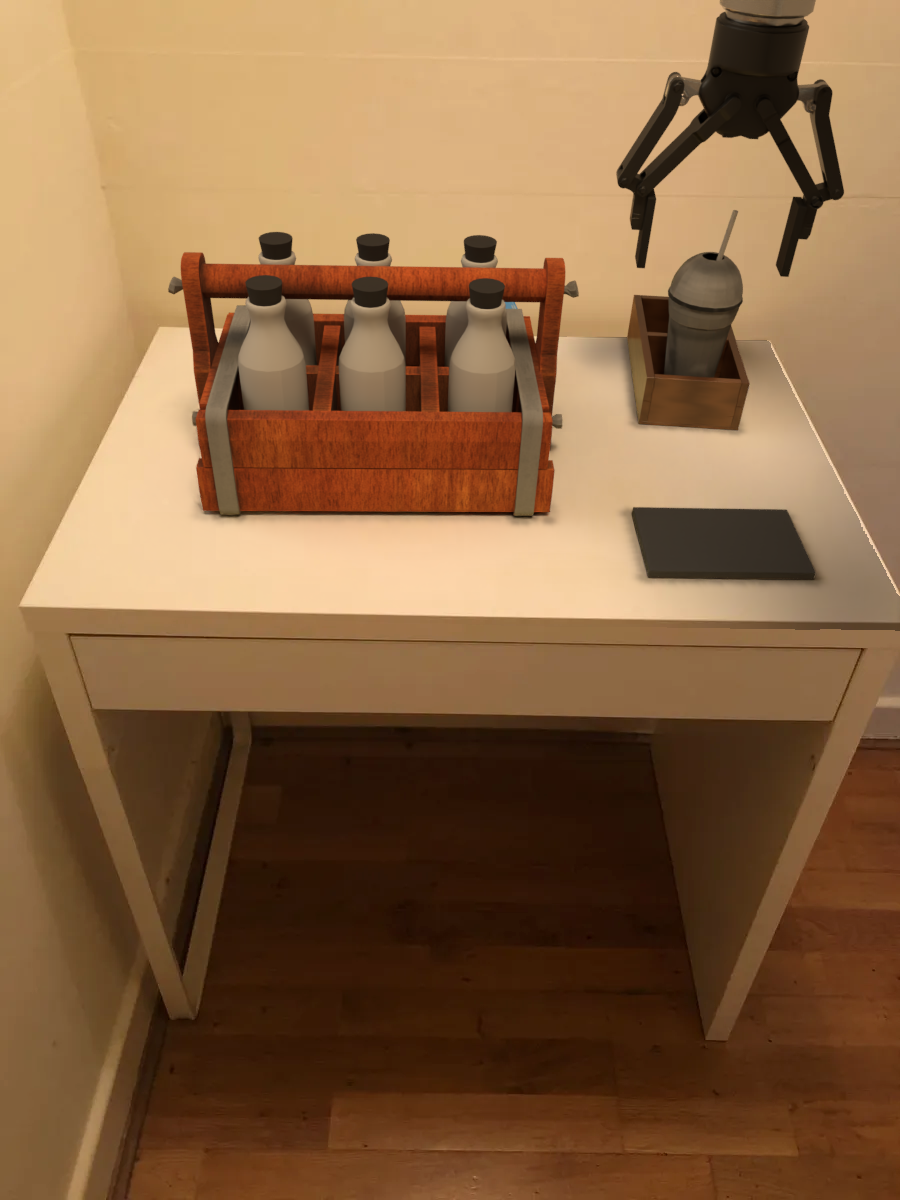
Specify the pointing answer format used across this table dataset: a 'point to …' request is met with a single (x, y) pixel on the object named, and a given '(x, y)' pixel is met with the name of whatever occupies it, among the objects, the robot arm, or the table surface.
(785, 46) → the robot arm
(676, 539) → the mat
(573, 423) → the table surface
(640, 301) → the wooden compartment box
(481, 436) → the milk bottle holder
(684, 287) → the beverage cup
